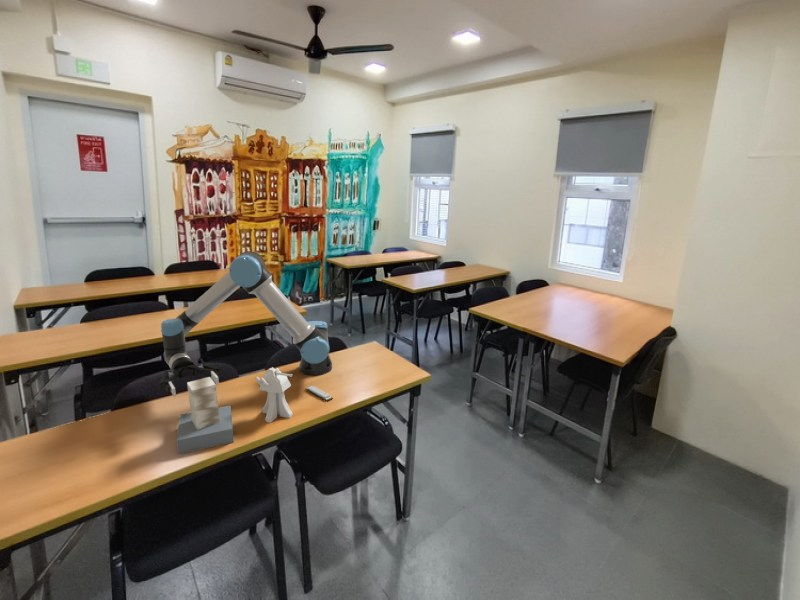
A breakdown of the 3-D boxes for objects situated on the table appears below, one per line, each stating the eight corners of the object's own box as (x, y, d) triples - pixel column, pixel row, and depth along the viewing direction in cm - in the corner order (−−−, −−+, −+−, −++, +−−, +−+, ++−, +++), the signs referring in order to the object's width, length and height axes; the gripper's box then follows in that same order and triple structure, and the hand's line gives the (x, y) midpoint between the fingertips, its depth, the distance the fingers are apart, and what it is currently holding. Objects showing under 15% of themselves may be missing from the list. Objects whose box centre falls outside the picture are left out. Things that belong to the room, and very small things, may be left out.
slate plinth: (231, 417, 143) (230, 405, 142) (233, 442, 129) (232, 428, 128) (182, 427, 136) (180, 414, 135) (178, 454, 122) (176, 440, 121)
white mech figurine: (285, 425, 139) (282, 379, 134) (253, 419, 142) (249, 373, 138) (302, 409, 150) (300, 365, 145) (272, 403, 153) (269, 360, 149)
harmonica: (333, 400, 158) (333, 395, 157) (327, 403, 155) (327, 398, 155) (311, 388, 167) (311, 384, 166) (305, 390, 164) (305, 386, 164)
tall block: (213, 413, 136) (209, 376, 133) (219, 422, 131) (215, 384, 127) (191, 420, 132) (186, 382, 128) (197, 429, 127) (192, 390, 123)
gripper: (217, 366, 158) (234, 385, 143) (145, 384, 143) (156, 407, 127) (215, 349, 156) (233, 367, 141) (142, 365, 141) (152, 387, 125)
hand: (196, 386), depth 134 cm, fingers open, 13 cm apart
